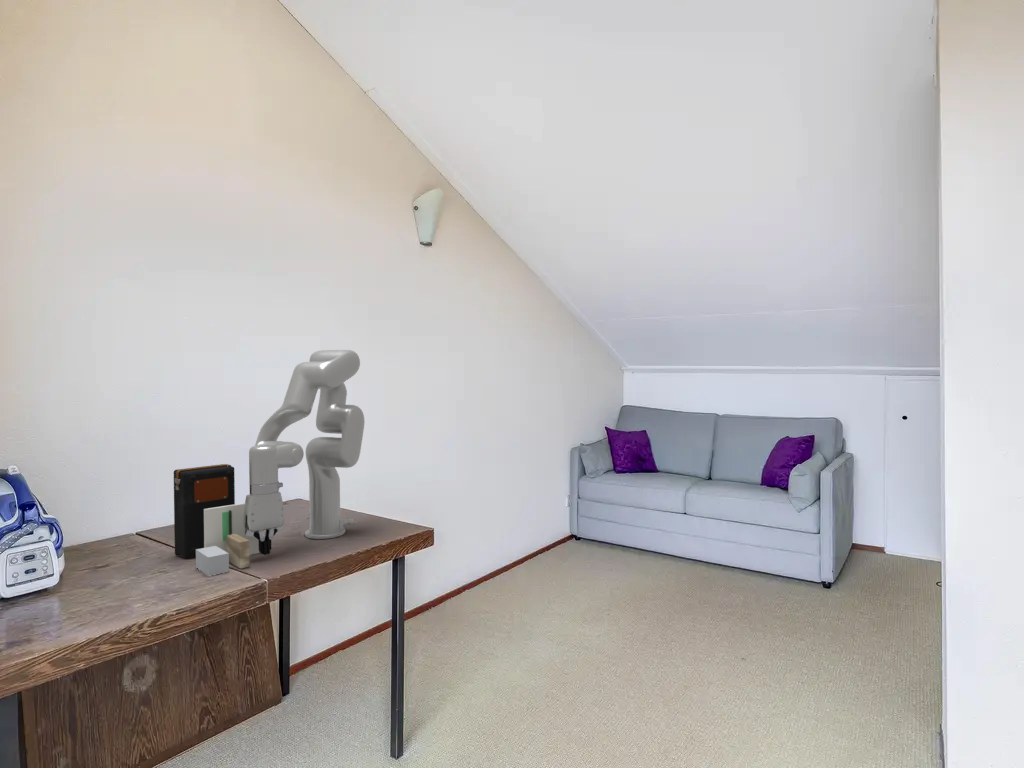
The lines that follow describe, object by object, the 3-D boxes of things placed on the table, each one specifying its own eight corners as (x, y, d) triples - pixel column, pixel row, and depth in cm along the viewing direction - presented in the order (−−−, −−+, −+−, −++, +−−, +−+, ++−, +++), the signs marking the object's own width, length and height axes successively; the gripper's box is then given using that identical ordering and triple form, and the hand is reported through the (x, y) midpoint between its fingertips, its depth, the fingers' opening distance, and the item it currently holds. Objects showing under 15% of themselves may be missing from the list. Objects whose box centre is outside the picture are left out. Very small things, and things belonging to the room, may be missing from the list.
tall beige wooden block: (234, 557, 170) (233, 509, 170) (249, 566, 162) (248, 515, 162) (225, 559, 168) (225, 510, 168) (240, 568, 161) (239, 517, 161)
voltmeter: (225, 543, 186) (224, 462, 186) (239, 548, 181) (238, 465, 180) (171, 555, 174) (170, 469, 174) (184, 561, 168) (183, 471, 168)
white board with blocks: (262, 551, 178) (261, 500, 177) (281, 560, 169) (280, 507, 168) (192, 565, 164) (191, 510, 164) (208, 576, 155) (207, 518, 155)
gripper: (284, 483, 178) (285, 545, 178) (231, 491, 168) (232, 556, 168) (295, 487, 173) (296, 550, 173) (241, 494, 162) (242, 562, 163)
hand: (265, 553), depth 171 cm, fingers closed
